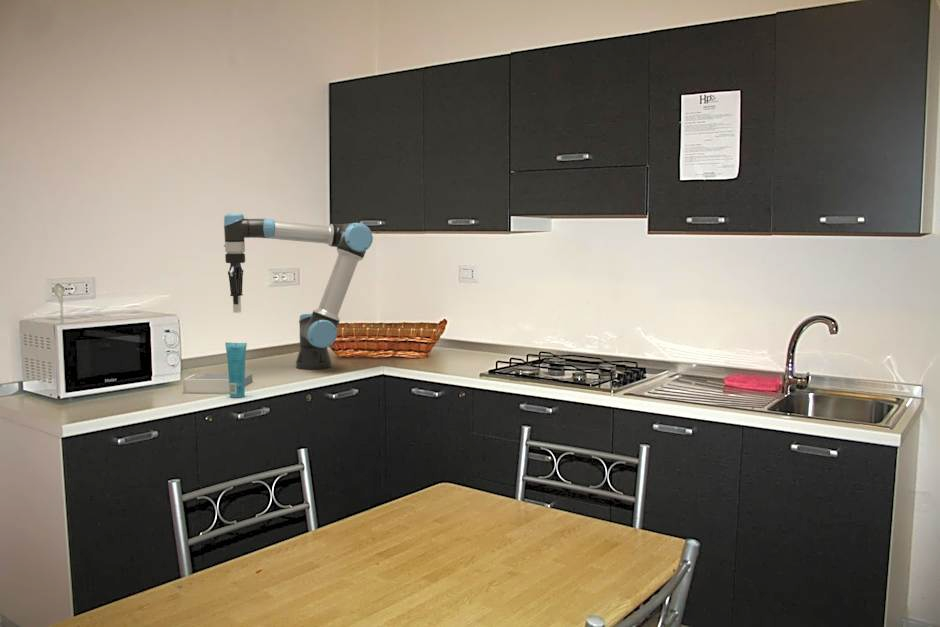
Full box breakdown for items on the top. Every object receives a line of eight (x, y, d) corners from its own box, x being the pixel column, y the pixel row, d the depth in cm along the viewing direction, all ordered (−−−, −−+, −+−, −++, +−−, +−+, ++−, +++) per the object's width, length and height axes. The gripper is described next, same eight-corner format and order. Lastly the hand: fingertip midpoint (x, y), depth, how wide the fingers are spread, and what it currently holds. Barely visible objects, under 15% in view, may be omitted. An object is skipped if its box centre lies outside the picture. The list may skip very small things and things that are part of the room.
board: (252, 381, 315) (252, 374, 315) (242, 388, 302) (242, 380, 302) (206, 381, 315) (206, 373, 315) (194, 387, 302) (194, 379, 302)
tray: (242, 388, 302) (241, 374, 301) (233, 393, 291) (232, 379, 291) (194, 387, 302) (193, 374, 302) (183, 393, 292) (183, 379, 291)
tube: (249, 395, 289) (247, 341, 287) (246, 397, 284) (245, 343, 282) (227, 395, 288) (226, 341, 286) (224, 398, 284) (223, 343, 282)
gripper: (230, 252, 327) (232, 310, 330) (220, 253, 315) (222, 314, 317) (249, 252, 327) (251, 310, 330) (239, 253, 314) (241, 313, 317)
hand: (237, 312), depth 323 cm, fingers closed
